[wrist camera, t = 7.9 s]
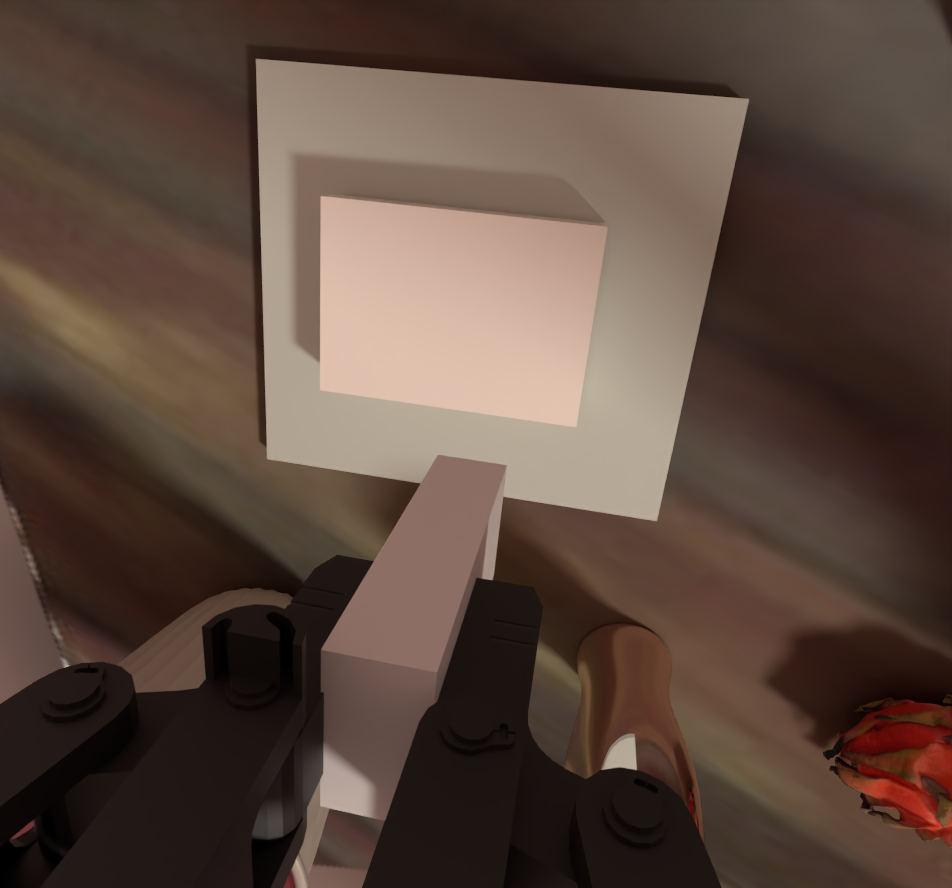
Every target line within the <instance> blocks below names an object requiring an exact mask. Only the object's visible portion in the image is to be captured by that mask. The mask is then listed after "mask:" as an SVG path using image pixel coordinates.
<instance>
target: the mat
mask: <svg viewBox="0 0 952 888" xmlns="http://www.w3.org/2000/svg"><path fill="white" fill-rule="evenodd" d="M256 82H257V117H258V152H259V187H260V222H261V258H262V293H263V328H264V363H265V398H266V433H267V459H271V460H277V461H283V462H290V463H296V464H302V465H308V466H315V467H321V468H327V469H333V470H340V471H346V472H352V473H359V474H365V475H371V476H377V477H384V478H390V479H396V480H402V481H409V482H415V483H421V482H422V481H423V479H424V477H425V476H426V474H427V472H428V471H429V469H430V467H431V466H432V464H433V462H434V461H435V459H436V457H437V456H438V455H444V456H450V457H457V458H463V459H470V460H476V461H483V462H489V463H496V464H502V465H507V469H506V477H505V486H504V494H503V497H509V498H515V499H521V500H528V501H534V502H540V503H546V504H553V505H559V506H565V507H572V508H578V509H584V510H590V511H597V512H603V513H609V514H615V515H622V516H628V517H634V518H640V519H647V520H653V521H657V518H658V513H659V509H660V504H661V500H662V495H663V491H664V486H665V481H666V477H667V472H668V468H669V463H670V459H671V454H672V449H673V445H674V440H675V436H676V431H677V427H678V422H679V417H680V413H681V408H682V404H683V399H684V395H685V390H686V385H687V381H688V376H689V372H690V367H691V363H692V358H693V353H694V349H695V344H696V340H697V335H698V331H699V326H700V321H701V317H702V312H703V308H704V303H705V299H706V294H707V289H708V285H709V280H710V276H711V271H712V267H713V262H714V257H715V253H716V248H717V244H718V239H719V235H720V230H721V225H722V221H723V216H724V212H725V207H726V203H727V198H728V193H729V189H730V184H731V180H732V175H733V171H734V166H735V161H736V157H737V152H738V148H739V143H740V139H741V134H742V129H743V125H744V120H745V116H746V111H747V107H748V102H749V99H742V98H730V97H718V96H706V95H693V94H681V93H669V92H657V91H644V90H632V89H620V88H608V87H596V86H583V85H571V84H559V83H547V82H534V81H522V80H510V79H498V78H486V77H473V76H461V75H449V74H437V73H424V72H412V71H400V70H388V69H376V68H363V67H351V66H339V65H327V64H314V63H302V62H290V61H278V60H266V59H256ZM328 195H345V196H354V197H364V198H373V199H382V200H392V201H401V202H410V203H420V204H429V205H439V206H448V207H457V208H467V209H476V210H485V211H495V212H504V213H514V214H523V215H532V216H542V217H551V218H560V219H570V220H579V221H589V222H598V223H607V224H608V230H607V237H606V243H605V249H604V256H603V262H602V268H601V275H600V281H599V287H598V294H597V300H596V306H595V313H594V319H593V325H592V332H591V338H590V344H589V351H588V357H587V363H586V370H585V376H584V382H583V389H582V395H581V401H580V408H579V414H578V420H577V427H570V426H564V425H557V424H550V423H543V422H536V421H529V420H522V419H515V418H508V417H501V416H494V415H488V414H481V413H474V412H467V411H460V410H453V409H446V408H439V407H432V406H425V405H418V404H412V403H405V402H398V401H391V400H384V399H377V398H370V397H363V396H356V395H349V394H343V393H336V392H329V391H322V390H320V228H321V196H328Z"/></svg>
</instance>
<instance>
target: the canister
mask: <svg viewBox="0 0 952 888" xmlns="http://www.w3.org/2000/svg"><path fill="white" fill-rule="evenodd" d="M292 599H293V597H291V596H290V595H289V594H287V593H279V592H276V591H275V590H264V589H262V588H254V589H248V588H242V589H238V590H230V591H226V592H224V593H221V594H219V595H215V596H212V597H210V598H208V599H206V600H204V601H203V602H201V603H200V604H198V605H196V606H194V607H192V608H191V609H189V610H188V611H187V612H185V613H184V614H182V615H181V616H180V617H178V618H177V619H176V620H174V621H173V622H172V623H170V624H169V625H168V626H166V627H165V628H164V629H162V630H161V631H160V632H158V633H157V634H156V635H154V636H153V637H152V638H150V639H149V640H148V641H147V642H145V643H144V644H143V645H141V646H140V647H139V648H138V649H136V650H135V651H134V652H133V653H131V654H130V655H129V656H127V657H126V658H125V659H124V660H122V661H121V662H120V663H119V664H117V666H121V667H122V668H124V669H125V670H126V671H127V672H129V673H130V674H131V675H132V677H133V681H134V686H135V691H136V693H140V692H159V691H179V690H187V689H194V688H199V686H200V685H201V684H202V683H203V681H204V680H205V679H206V675H205V662H204V649H203V636H202V626H203V625H204V624H206V623H207V622H208V621H209V620H211V619H212V618H213V617H214V616H216V615H218V614H220V613H223V612H225V611H228V610H230V609H232V608H235V607H241V606H247V605H253V604H261V605H275V606H278V607H281V608H284V609H285V608H286V607H287V605H288V604H289V605H290V603H291V600H292ZM328 811H329V808H326V807H322V806H320V781H319V784H318V786H317V788H316V790H315V792H314V794H313V796H312V798H311V801H310V803H309V805H308V807H307V829H306V833H305V838H304V842H303V845H302V847H301V849H300V851H299V854H298V856H297V858H296V860H295V863H294V865H293V867H292V869H291V872H290V874H289V876H288V878H287V880H286V883H285V885H284V887H283V888H309V884H308V876H309V873H310V870H311V867H312V864H313V861H314V858H315V855H316V852H317V848H318V845H319V841H320V838H321V835H322V831H323V828H324V825H325V821H326V818H327V815H328ZM33 826H34V822H33V821H31V822H30V823H29V824H28V825H27V826H25V827H24V828H23V829H22V830H20V831H19V832H18V833H17V834H16V835H14V836H13V837H12V838H11V839H15V838H17V837H18V836H20V835H22V834H23V833H25V832H27V831H28V830H29V829H31V828H32V827H33Z"/></svg>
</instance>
